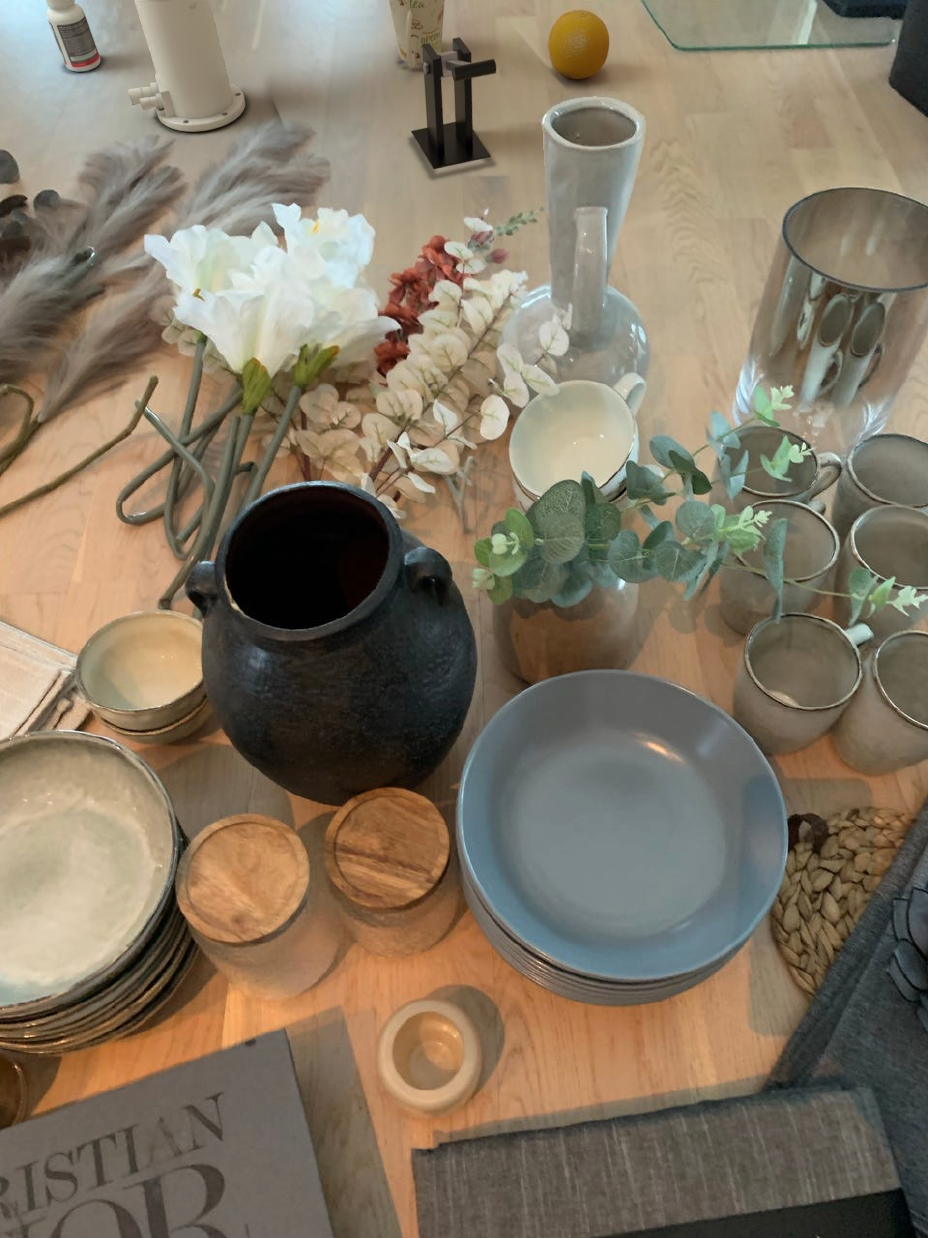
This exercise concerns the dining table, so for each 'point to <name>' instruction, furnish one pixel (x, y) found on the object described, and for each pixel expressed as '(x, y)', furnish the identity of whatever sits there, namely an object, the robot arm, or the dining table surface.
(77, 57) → the pill bottle
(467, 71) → the lever
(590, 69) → the fruit
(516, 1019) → the dining table surface
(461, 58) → the black lever stand
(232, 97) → the robot arm
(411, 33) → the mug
